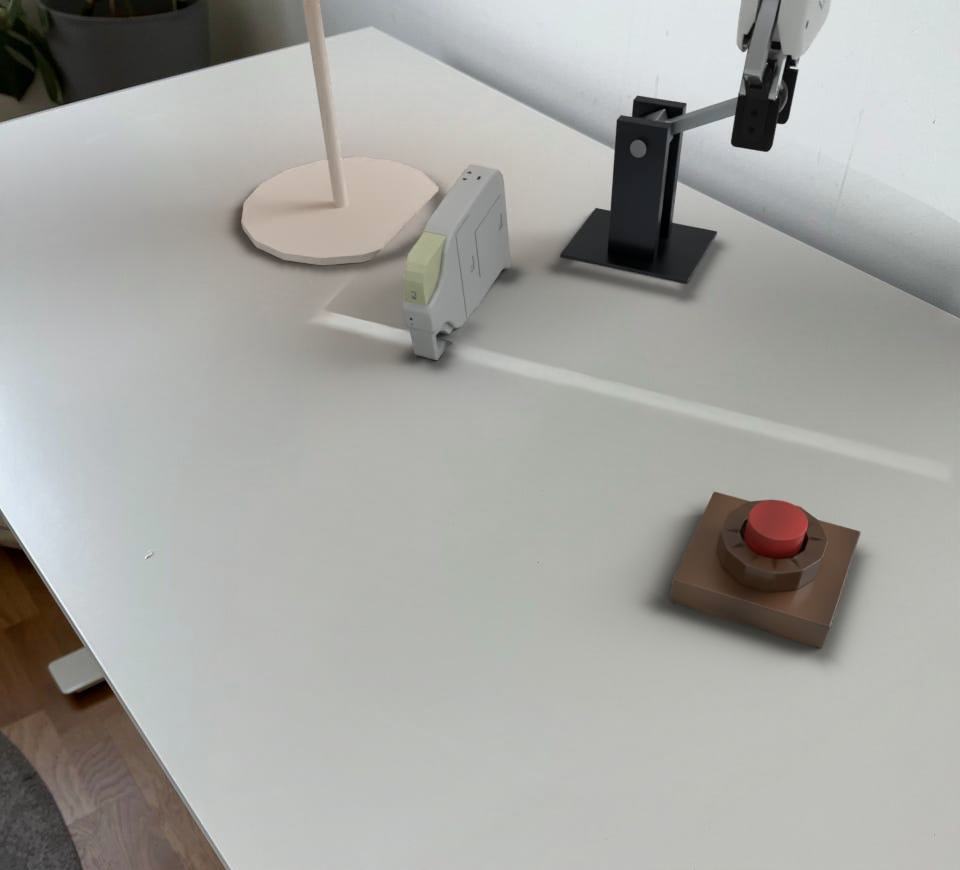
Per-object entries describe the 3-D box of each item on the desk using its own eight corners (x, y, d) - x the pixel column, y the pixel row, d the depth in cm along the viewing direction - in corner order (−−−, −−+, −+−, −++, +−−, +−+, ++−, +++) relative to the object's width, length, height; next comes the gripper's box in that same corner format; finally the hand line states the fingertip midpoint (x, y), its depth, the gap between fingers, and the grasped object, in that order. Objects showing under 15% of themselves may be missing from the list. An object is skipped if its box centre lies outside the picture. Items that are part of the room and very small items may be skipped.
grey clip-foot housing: (412, 376, 84) (484, 266, 91) (442, 383, 83) (512, 272, 90) (390, 266, 75) (472, 152, 81) (423, 273, 74) (503, 158, 80)
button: (807, 528, 63) (814, 508, 62) (794, 566, 61) (800, 546, 60) (752, 513, 64) (757, 493, 63) (737, 550, 62) (742, 530, 61)
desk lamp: (295, 333, 85) (204, -105, 61) (141, 207, 100) (18, -185, 76) (552, 215, 96) (561, -196, 72) (378, 118, 111) (337, -250, 87)
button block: (852, 554, 67) (868, 511, 63) (822, 649, 62) (837, 608, 58) (709, 513, 69) (717, 470, 66) (668, 602, 64) (676, 559, 61)
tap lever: (796, 102, 77) (786, 60, 76) (786, 119, 76) (776, 76, 74) (647, 148, 85) (635, 111, 83) (634, 165, 83) (622, 127, 82)
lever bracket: (715, 244, 92) (738, 99, 82) (685, 294, 87) (706, 146, 77) (594, 220, 95) (603, 79, 85) (559, 266, 90) (564, 122, 80)
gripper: (840, -110, 59) (779, 190, 73) (893, -180, 68) (830, 98, 82) (718, -120, 61) (681, 173, 75) (786, -187, 70) (742, 85, 85)
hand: (759, 131), depth 79 cm, fingers open, 4 cm apart
